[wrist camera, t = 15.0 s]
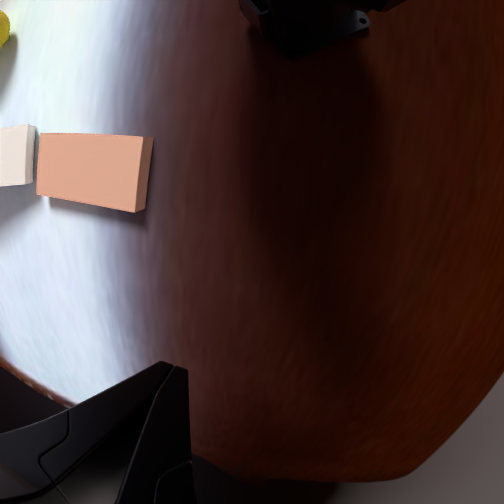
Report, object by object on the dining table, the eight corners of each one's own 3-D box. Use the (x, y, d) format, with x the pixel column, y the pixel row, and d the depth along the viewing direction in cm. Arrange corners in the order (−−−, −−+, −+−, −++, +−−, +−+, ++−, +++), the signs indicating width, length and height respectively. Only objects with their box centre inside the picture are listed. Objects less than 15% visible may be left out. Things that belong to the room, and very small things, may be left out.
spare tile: (143, 136, 17) (40, 133, 18) (134, 212, 19) (36, 194, 20) (156, 138, 19) (56, 133, 20) (147, 207, 21) (51, 190, 21)
